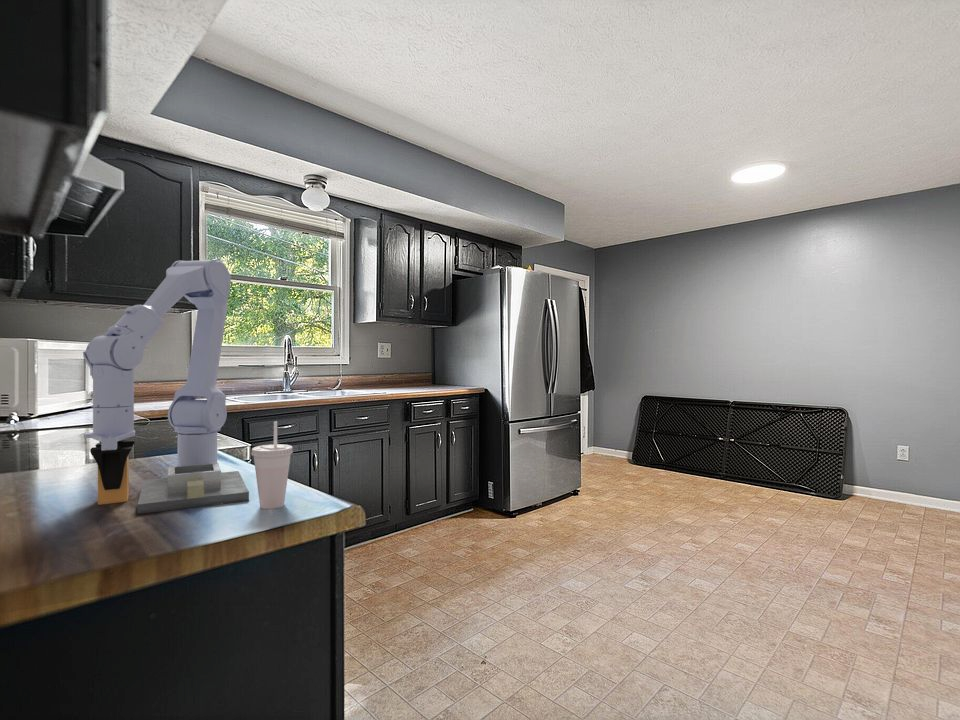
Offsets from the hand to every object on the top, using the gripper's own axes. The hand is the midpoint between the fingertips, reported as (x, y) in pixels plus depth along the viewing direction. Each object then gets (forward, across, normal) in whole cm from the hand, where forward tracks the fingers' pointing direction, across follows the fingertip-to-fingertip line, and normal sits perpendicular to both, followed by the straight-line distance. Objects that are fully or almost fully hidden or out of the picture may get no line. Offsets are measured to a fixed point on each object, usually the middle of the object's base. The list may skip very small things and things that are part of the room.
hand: (113, 485), depth 90 cm
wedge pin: (+2, 0, 0) cm, 2 cm away
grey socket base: (+2, +2, +12) cm, 12 cm away
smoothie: (+3, +16, +23) cm, 28 cm away
